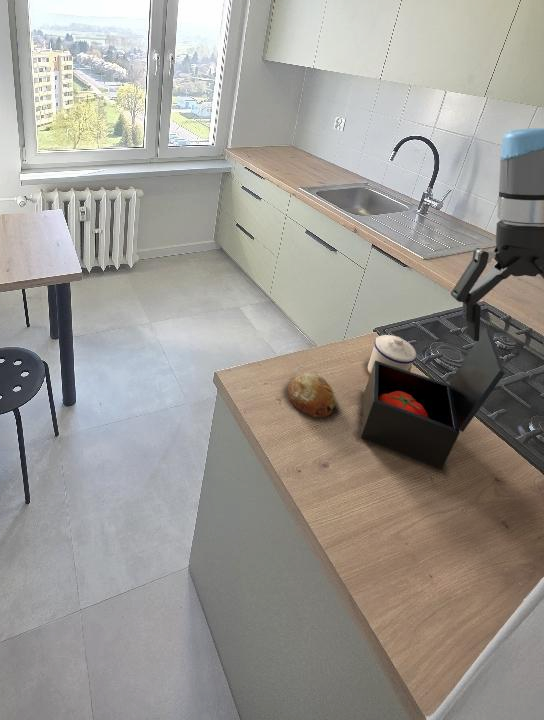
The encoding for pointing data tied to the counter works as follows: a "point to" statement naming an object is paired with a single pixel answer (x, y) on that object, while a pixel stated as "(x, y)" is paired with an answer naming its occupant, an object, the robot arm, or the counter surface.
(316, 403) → the bread roll
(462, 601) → the counter surface
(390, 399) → the tomato
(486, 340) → the bin lid
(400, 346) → the teacup with lid
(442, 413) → the black open box
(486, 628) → the counter surface
